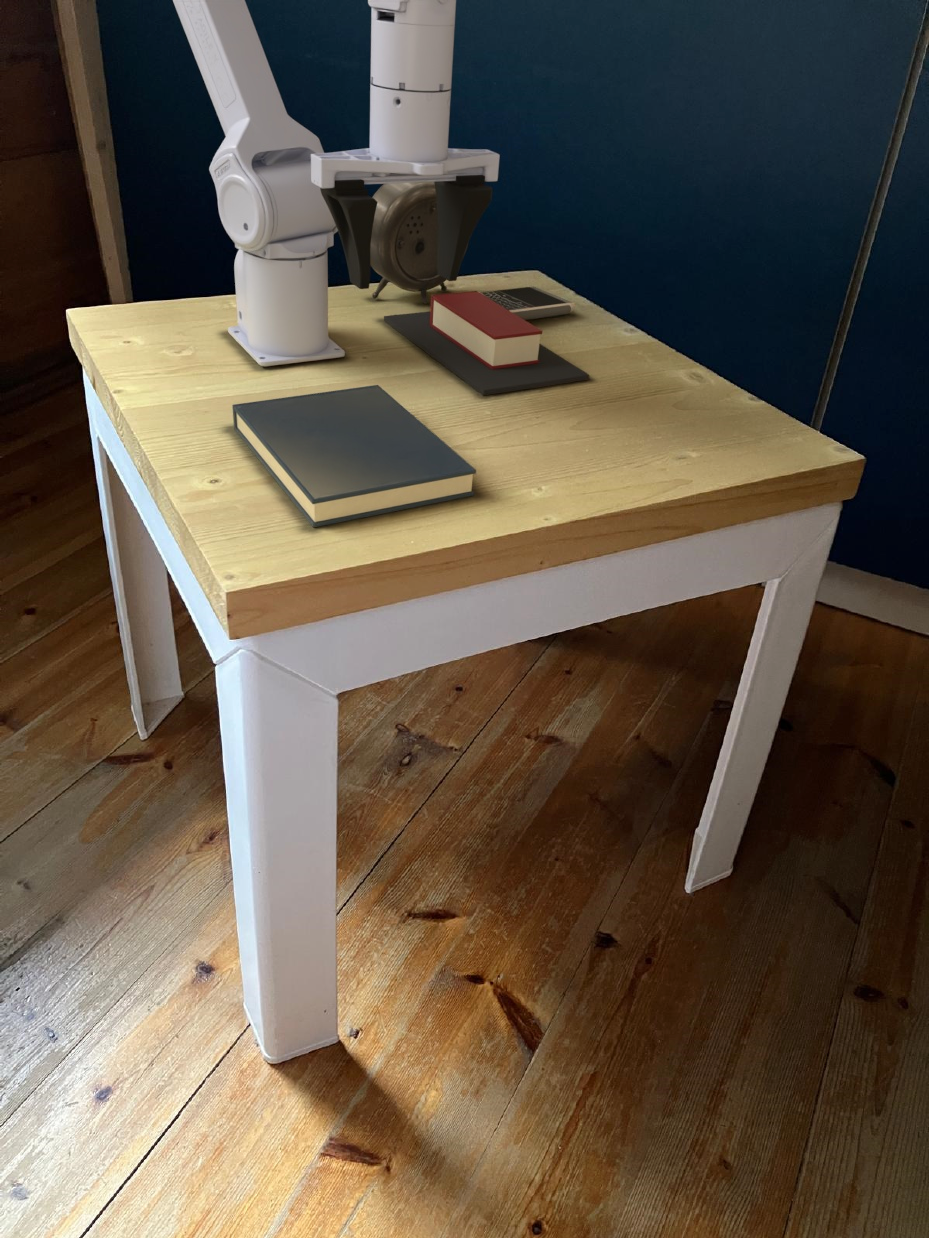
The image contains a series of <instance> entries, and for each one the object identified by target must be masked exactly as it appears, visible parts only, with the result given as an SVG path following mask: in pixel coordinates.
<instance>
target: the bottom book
mask: <svg viewBox="0 0 929 1238" xmlns="http://www.w3.org/2000/svg"><path fill="white" fill-rule="evenodd" d="M231 406H232V419H233V430H234V432H235V433H236V434H237V435H238V436H239V437H240V438H241V440H242V441H243V442H244V443H245V445H246V446H247V448H248V449H249V450H250V451H251V453H252V454H253V455H254V456H255V457H256V458H257V460H258V461H259V462H260V463H261V465H262V466H263V467H264V469H265V470H266V471H267V472H268V473H269V475H270V476H271V477H272V478H273V480H274V481H275V482H276V483H277V485H278V486H279V487H280V488H281V490H283V492H284V493H285V494H286V496H287V497H288V498H289V499H290V501H291V502H292V503H293V504H294V505H295V507H296V508H297V509H298V511H299V513H301V514H302V516H303V517H304V518H305V520H306V521H307V522H308V523H309V524H310V525H311V527H312V528H317V527H323V526H327V525H334V524H337V523H343V522H347V521H348V522H349V521H353V520H359V519H362V518H369V517H372V516H373V517H374V516H378V515H383V514H388V513H392V512H398V511H402V510H403V511H404V510H407V509H411V508H412V509H413V508H417V507H422V506H423V507H424V506H428V505H432V504H437V503H438V504H439V503H442V502H448V501H453V500H458V499H462V498H468V497H472V496H474V495H475V491H474V490H473V478H474V475H475V474H477V469H476V468H475V467H473V466H472V465H471V464H470V463H469V462H467V461H466V460H465V459H464V458H463V457H462V456H461V455H459V454H458V453H457V451H455V450H454V449H453V448H452V447H450V446H449V445H448V444H447V443H445V441H443V439H441V438H440V437H439V436H438V435H436V434H435V433H434V432H433V431H432V430H431V429H429V428H428V427H427V425H425V424H424V423H422V422H421V421H420V420H419V419H418V418H417V417H416V416H415V415H413V414H412V413H411V412H410V411H409V410H408V409H407V408H405V406H403V405H402V404H401V403H400V402H399V401H397V400H396V399H395V398H394V397H393V396H391V395H390V394H389V393H388V392H387V391H385V389H383V388H382V387H381V386H380V385H379V384H374V385H367V386H359V387H353V388H344V389H338V390H337V389H336V390H331V391H321V392H316V393H315V392H314V393H307V394H300V395H293V396H287V397H286V396H285V397H279V398H271V399H265V400H256V401H251V402H241V403H236V404H235V403H233V404H232V405H231Z"/></svg>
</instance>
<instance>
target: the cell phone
mask: <svg viewBox="0 0 929 1238" xmlns="http://www.w3.org/2000/svg"><path fill="white" fill-rule="evenodd" d="M478 292H479V291H478ZM479 293H481V294H482V295H484V296H486V297H487V298H489V299H491V300H492V301H494V302H496V303H497V304H499V305H501V306H502V307H504V308H505V309H507V310H509V311H510V312H512V313H514V314H515V315H517V316H519V317H520V318H522V319H524V320H525V321H527V320H529V321H530V320H535V319H541V318H542V319H543V318H551V317H557V316H563V315H564V316H565V315H570V314H571V313H572V312H573V311H574V309H575V307H576V303H575V302H573V301H570V300H568V299H565V298H563V297H560V296H558V295H556V294H553V293H550V292H548V291H546V290H543V289H541V288H539V287H536V286H525V287H517V288H508V289H507V288H506V289H499V290H497V289H496V290H489V291H481V292H479Z"/></svg>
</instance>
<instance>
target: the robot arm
mask: <svg viewBox="0 0 929 1238" xmlns="http://www.w3.org/2000/svg"><path fill="white" fill-rule="evenodd" d="M172 2H173V5H174V7H175V10H176V13H177V15H178V18H179V20H180V23H181V26H182V28H183V31H184V33H185V35H186V38H187V41H188V43H189V46H190V48H191V51H192V53H193V56H194V59H195V61H196V64H197V66H198V69H199V71H200V74H201V76H202V79H203V81H204V84H205V87H206V90H207V92H208V95H209V97H210V100H211V102H212V105H213V107H214V110H215V112H216V116H217V117H218V120H219V122H220V126H221V128H222V130H223V134H224V136H225V137H224V139H223V140H222V142H221V144H220V146H219V147H218V149H217V150H216V152H215V153H214V156H213V157H212V161H211V162H210V165H209V167H208V171H209V174H210V175H211V178H212V181H213V183H214V187H215V192H216V198H217V208H218V215H219V218H220V221H221V225H222V226H223V228H224V230H225V232H226V234H227V235H228V236H229V238H230V239H231V240H232V242H233V243H234V248H236V249H237V252H236V255H235V259H234V265H233V271H234V283H235V284H234V286H235V301H236V318H237V325H235V326H229V327H227V332H228V334H229V335H230V336H231V337H232V338H233V339H234V340H235V341H236V342H237V344H239V345H240V346H241V348H243V349H244V351H245V352H246V353H247V354H248V355H249V356H250V357H251V358H252V359H253V360H254V361H255V362H257V364H258V365H259V366H261V367H271V366H273V367H274V366H279V365H289V364H298V363H304V362H305V363H306V362H313V361H322V360H329V359H336V358H337V359H338V358H343V357H345V356H346V351H345V350H344V349H343V348H341V346H339V345H338V344H337V343H336V342H335V341H334V340H332V338H330V337H329V280H328V279H329V274H328V273H329V271H328V270H329V267H328V265H329V264H328V261H329V260H328V259H329V257H328V248H331V247H333V246H334V243H335V242H334V241H335V240H334V238H335V237H334V235H335V234H336V233H338V235H339V238H340V241H341V245H342V248H343V253H344V256H345V260H346V265H347V271H348V275H349V282H350V284H352V285H354V286H355V287H356V288H357V289H359V290H367V289H368V290H369V289H370V288H369V287H370V283H371V266H370V246H371V235H372V228H373V222H374V216H375V211H376V207H377V203H378V202H377V201H376V200H375V199H374V198H372V197H373V196H371V195H369V189H368V188H365V185H383V184H386V183H411V182H434V184H435V191H436V199H437V209H438V246H437V272H438V275H440V276H442V277H443V278H445V279H446V281H448V282H455V281H457V279H458V276H459V273H460V268H461V265H462V262H463V260H464V258H463V256H464V257H465V255H464V253H465V250H466V247H467V245H468V246H469V243H468V242H470V239H471V237H472V235H473V233H474V231H475V229H476V227H477V226H478V225H477V224H478V223H479V221H480V219H481V218H482V216H483V214H484V213H485V211H486V210H487V208H488V207H489V205H490V204H491V202H492V199H493V188H492V186H489V185H487V184H485V183H486V182H488V183H489V182H491V183H492V182H498V179H499V168H500V154H499V153H497V152H495V151H492V150H491V149H483V148H482V149H481V148H480V149H474V148H473V149H469V148H450V147H449V134H450V133H449V132H450V115H451V114H450V113H451V99H452V97H451V96H452V83H453V82H452V81H453V79H452V78H453V61H454V43H455V29H456V28H455V27H456V26H455V25H456V8H457V0H367V4H368V6H369V7H370V8H371V10H370V11H371V12H370V13H371V14H370V15H371V16H370V20H371V21H370V24H371V25H370V83H369V85H370V86H369V87H370V90H369V147H365V148H359V149H351V150H350V149H349V150H341V151H333V152H325V151H324V149H323V146H322V144H321V143H322V142H321V141H320V138H319V137H318V136H317V135H316V134H314V133H313V132H312V131H311V130H309V129H308V128H306V127H304V125H302V124H300V123H299V122H298V121H296V120H295V119H293V118H292V117H291V116H290V115H289V114H288V112H287V109H286V107H285V104H284V101H283V99H282V95H281V93H280V90H279V88H278V86H277V85H278V84H277V83H276V80H275V78H274V75H273V71H272V70H271V67H270V64H269V61H268V59H267V56H266V53H265V50H264V48H263V45H262V43H261V39H260V37H259V35H258V31H257V30H256V26H255V24H254V21H253V18H252V16H251V13H250V10H249V8H248V5H247V2H246V0H172ZM467 248H468V247H467ZM466 251H467V250H466ZM465 254H466V253H465ZM462 259H463V260H462Z"/></svg>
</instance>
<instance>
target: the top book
mask: <svg viewBox="0 0 929 1238" xmlns="http://www.w3.org/2000/svg"><path fill="white" fill-rule="evenodd" d="M430 326H431V327H432V328H434V329H435V330H436V331H438V332H439V333H441V334H442V335H443V336H445V337H446V338H448V339H449V340H451V341H452V342H453V343H455V344H456V345H458V346H459V347H461V348H462V349H463V350H465V351H466V352H468V353H469V354H470V355H472V356H473V357H475V358H476V359H478V360H479V361H480V362H482V363H483V364H485V365H486V366H487V367H489V368H490V369H499V368H506V367H514V366H521V365H528V364H535V363H539V360H538V352H539V344H541V343H540V342H541V335H543V330H542V329H540V328H538V327H537V326H535V325H534V324H532V323H530V322H529V321H527V320H524V319H522V318H520V317H519V316H517V315H515V314H514V313H512V312H510V311H509V310H507V309H505V308H504V307H502V306H501V305H499V304H497V303H496V302H494V301H492V300H491V299H489V298H487V297H486V296H484V295H482V294H481V293H479V291H477V290H470V291H469V290H468V291H460V292H459V291H458V292H449V293H448V292H447V293H438V294H431V295H430Z"/></svg>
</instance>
